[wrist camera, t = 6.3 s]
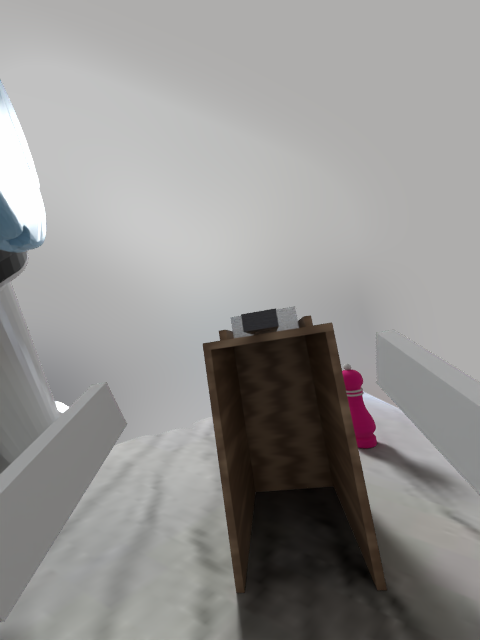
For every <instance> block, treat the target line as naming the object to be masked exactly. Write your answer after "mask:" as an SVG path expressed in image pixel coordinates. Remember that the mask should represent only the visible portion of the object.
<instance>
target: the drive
mask: <svg viewBox="0 0 480 640" xmlns="http://www.w3.org/2000/svg"><path fill="white" fill-rule="evenodd" d="M231 323H232V329H233V336H234V338H240V337H246V336H252V335H258V334H265V333H271V332H277V331H283V330H289V329H295V328H299V326H298V320H297V315H296V310H295V307H289V308H283V309H278V310H276V309H271V310H265V311H259V312H253V313H247V314H242V315H241V316H237V317H232V318H231Z"/></svg>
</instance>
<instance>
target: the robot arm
mask: <svg viewBox="0 0 480 640" xmlns="http://www.w3.org/2000/svg"><path fill="white" fill-rule="evenodd" d="M38 188H39V181H38V177H37V174H36V170H35V167H34V163H33V160H32V157H31V154H30V151H29V148H28V145H27V142H26V139H25V136H24V134H23V131H22V128H21V126H20V123H19V121H18V118H17V116H16V113H15V111H14V108H13V106H12V104H11V101H10V99H9V97H8V95H7V92H6V90H5V88H4V86H3V84H2V82H1V80H0V622H2V621H5V620H6V618H7V616H8V615H9V613H10V612H11V610H12V608H13V607H14V605H15V604H16V602H17V600H18V599H19V597H20V596H21V594H22V592H23V591H24V589H25V588H26V586H27V584H28V583H29V581H30V580H31V578H32V576H33V575H34V573H35V571H36V570H37V568H38V567H39V565H40V563H41V562H42V560H43V559H44V557H45V555H46V554H47V552H48V551H49V549H50V547H51V546H52V544H53V543H54V541H55V539H56V538H57V536H58V535H59V533H60V531H61V530H62V528H63V527H64V525H65V523H66V522H67V520H68V519H69V517H70V515H71V514H72V512H73V511H74V509H75V507H76V506H77V504H78V502H79V501H80V499H81V498H82V496H83V494H84V493H85V491H86V490H87V488H88V486H89V485H90V483H91V482H92V480H93V478H94V477H95V475H96V474H97V472H98V470H99V469H100V467H101V466H102V464H103V462H104V461H105V459H106V458H107V456H108V454H109V453H110V451H111V450H112V448H113V446H114V445H115V443H116V441H117V440H118V438H119V437H120V435H121V433H122V432H123V430H124V429H125V427H126V425H127V423H126V421H125V419H124V417H123V415H122V413H121V411H120V409H119V407H118V405H117V403H116V401H115V398H114V397H113V395H112V393H111V391H110V388H109V387H108V384H107V382H105V383H99V384H94V385H92V386H91V387H89V389H87V390H86V391H85V393H83V394H82V395H81V396H80V397H79V398H78V399H77V400H76V401H75V402H74V403H73V404H72V405H71V406H70V407H69V408H68V407H67V406H66V405H64V404H62V403H60V402H57V401H55V400H54V397H53V395H52V392H51V390H50V387H49V384H48V381H47V379H46V376H45V373H44V370H43V368H42V365H41V362H40V360H39V357H38V354H37V352H36V349H35V346H34V343H33V341H32V338H31V335H30V332H29V330H28V327H27V324H26V322H25V319H24V316H23V314H22V311H21V308H20V305H19V303H18V300H17V297H16V294H15V292H14V289H13V286H12V283H11V281H12V280H13V279H15V278H16V277H17V276H19V274H21V273H22V272H23V270H24V269H25V267H26V266H27V263H28V253H27V250H29V249H34V248H37V247H39V246H41V245H42V244H43V242H44V240H45V236H46V216H45V209H44V204H43V200H42V197H41V194H40V191H39V189H38ZM376 368H377V369H376V370H377V384H378V385H379V386H380V387H381V388H382V390H383V391H384V392H385V393H386V394H387V395H388V396H389V397H390V398H391V399H392V400H393V402H394V403H395V404H396V405H397V406H398V407H399V408H400V409H401V410H402V411H403V412H404V414H405V415H406V416H407V417H408V418H409V419H410V420H411V421H412V422H413V423H414V424H415V426H416V427H417V428H418V429H419V430H420V431H421V432H422V433H423V434H424V435H425V436H426V438H427V439H428V440H429V441H430V442H431V443H432V444H433V445H434V446H435V447H436V448H437V450H438V451H439V452H440V453H441V454H442V455H443V456H444V457H445V458H446V459H447V460H448V462H449V463H450V464H451V465H452V466H453V467H454V468H455V469H456V470H457V471H458V472H459V473H460V475H461V476H462V477H463V478H464V479H465V480H466V481H467V482H468V483H469V484H470V485H471V487H472V488H473V489H474V490H475V491H476V492H477V493H478V494H479V495H480V382H479V381H477V380H476V379H474V378H473V377H471V376H469V375H468V374H466V373H464V372H463V371H461V370H460V369H458V368H456V367H455V366H453V365H451V364H450V363H448V362H446V361H445V360H443V359H441V358H440V357H438V356H437V355H435V354H433V353H432V352H430V351H428V350H427V349H425V348H423V347H422V346H420V345H418V344H417V343H415V342H413V341H412V340H410V339H408V338H407V337H405V336H404V335H402V334H400V333H399V332H397V331H395V330H388V331H384V332H378V333H376Z"/></svg>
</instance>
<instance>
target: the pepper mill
mask: <svg viewBox="0 0 480 640" xmlns="http://www.w3.org/2000/svg"><path fill="white" fill-rule="evenodd" d="M344 369H345V370H343V371H342V373H343V378H344V383H345V388H346V393H347V398H348V403H349V407H350V412H351V417H352V422H353V427H354V432H355V437H356V441H357V446H358V448H372V447H374V446H376V445H377V441H376V436H375V435H374V434H373V433H374V431H375V429H376V426H375V422H374V420H373V418H372V416H371V415H370V414H369V412H368V411H367V409H366V407H365V405H364V402H363V398H362V394H363V391H362V390H363V389H362V388H361V385H362V384H363V378H362V376H361V374H360V373H359V372H357V371H355V370H351V366H350V365H349V364H345V365H344Z"/></svg>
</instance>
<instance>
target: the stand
mask: <svg viewBox="0 0 480 640" xmlns="http://www.w3.org/2000/svg"><path fill="white" fill-rule="evenodd" d="M298 326H299V328H295V329H289V330H283V331H277V332H271V333H265V334H258V335H252V336H246V337H240V338H234V336H233V331H228V330H221V331H219V336H220V341H216V342H210V343H203V350H204V357H205V364H206V372H207V380H208V386H209V394H210V401H211V409H212V416H213V424H214V431H215V439H216V446H217V453H218V461H219V468H220V475H221V483H222V490H223V498H224V505H225V512H226V520H227V527H228V534H229V542H230V549H231V557H232V564H233V571H234V579H235V586H236V593H245V585H246V575H247V566H248V557H249V548H250V539H251V530H252V521H253V511H254V502H255V493H256V492H265V491H278V490H292V489H305V488H319V487H333V486H334V489H335V491H336V494H337V496H338V498H339V501H340V503H341V505H342V508H343V510H344V512H345V515H346V517H347V520H348V522H349V524H350V527H351V529H352V531H353V534H354V536H355V538H356V541H357V543H358V546H359V548H360V550H361V553H362V555H363V557H364V560H365V562H366V564H367V567H368V569H369V572H370V574H371V576H372V579H373V581H374V583H375V586H376V588H377V590H387V587H386V583H385V578H384V573H383V568H382V563H381V558H380V553H379V548H378V544H377V539H376V534H375V529H374V524H373V519H372V514H371V510H370V505H369V500H368V495H367V490H366V485H365V480H364V476H363V471H362V466H361V461H360V456H359V451H358V446H357V441H356V437H355V432H354V427H353V422H352V417H351V412H350V407H349V403H348V398H347V393H346V388H345V383H344V378H343V373H342V368H341V364H340V359H339V354H338V349H337V344H336V339H335V335H334V330H333V325H332V323H327V324H320V325H314V326H313V324H312V319H311V316H304V317H302V318H301V319H300V320H299V321H298Z"/></svg>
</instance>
